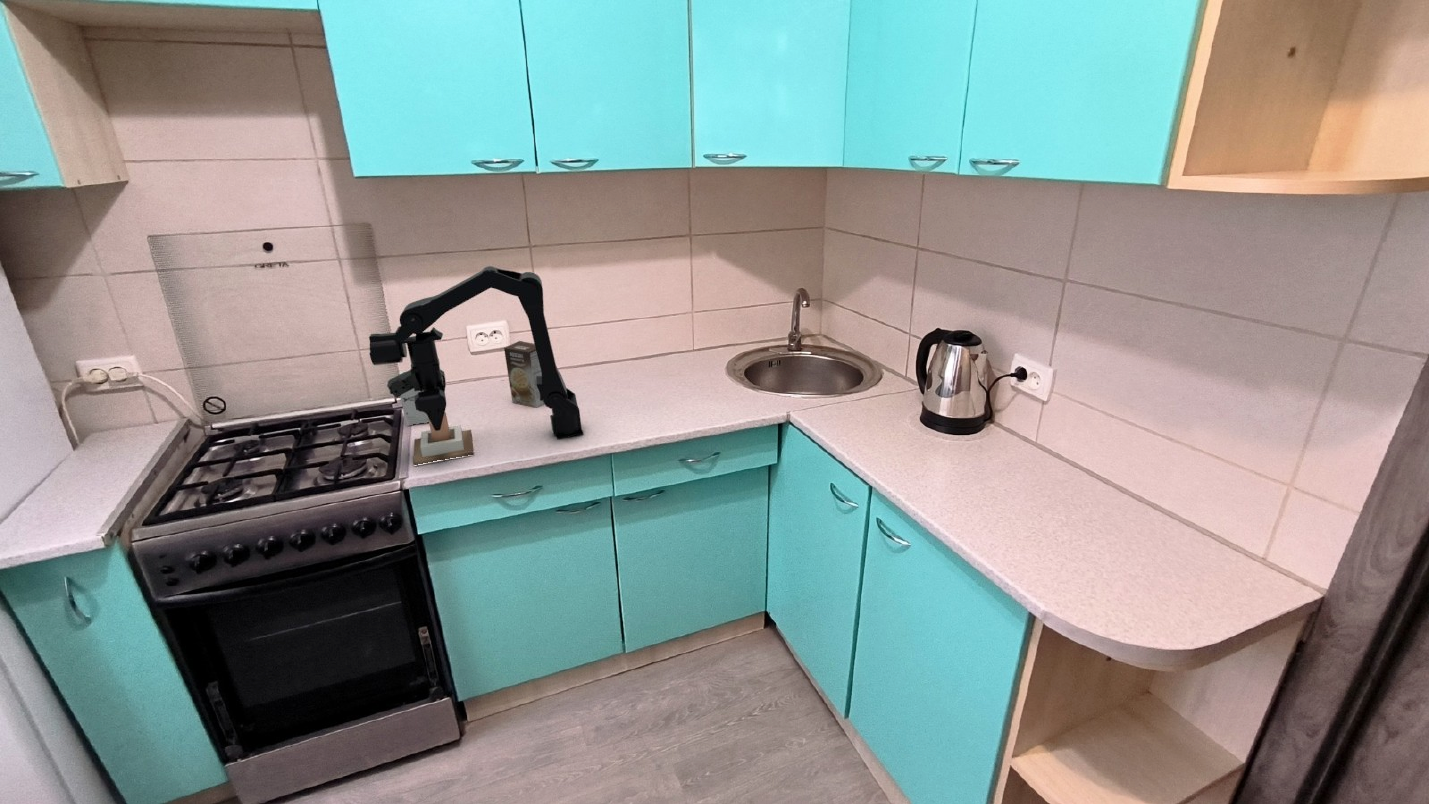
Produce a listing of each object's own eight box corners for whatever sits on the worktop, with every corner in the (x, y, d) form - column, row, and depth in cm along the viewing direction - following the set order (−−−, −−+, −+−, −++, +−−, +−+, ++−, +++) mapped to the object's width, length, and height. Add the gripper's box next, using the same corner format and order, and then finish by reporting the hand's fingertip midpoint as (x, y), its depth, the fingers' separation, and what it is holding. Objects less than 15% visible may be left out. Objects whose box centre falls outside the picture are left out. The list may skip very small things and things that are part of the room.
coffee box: (511, 402, 185) (502, 347, 178) (527, 394, 190) (518, 340, 183) (536, 408, 181) (528, 351, 174) (552, 399, 186) (545, 344, 179)
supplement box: (406, 426, 172) (395, 381, 167) (409, 415, 179) (399, 371, 174) (436, 422, 174) (426, 377, 169) (439, 411, 180) (430, 367, 175)
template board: (471, 433, 167) (469, 420, 166) (473, 455, 156) (471, 442, 155) (415, 442, 163) (412, 429, 162) (413, 466, 152) (410, 453, 151)
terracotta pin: (452, 440, 162) (445, 410, 159) (452, 447, 158) (446, 416, 155) (434, 443, 160) (427, 412, 157) (434, 450, 157) (427, 419, 154)
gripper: (387, 352, 156) (402, 413, 162) (382, 378, 140) (398, 445, 146) (438, 345, 160) (451, 405, 166) (439, 370, 144) (452, 436, 150)
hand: (437, 422), depth 157 cm, fingers open, 9 cm apart
